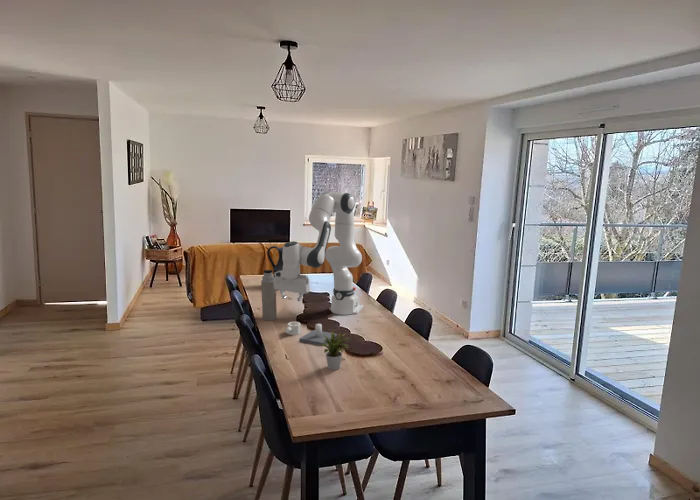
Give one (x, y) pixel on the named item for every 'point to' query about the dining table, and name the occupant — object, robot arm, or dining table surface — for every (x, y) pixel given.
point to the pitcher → (280, 261)
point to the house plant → (334, 351)
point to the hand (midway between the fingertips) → (291, 299)
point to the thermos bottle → (268, 296)
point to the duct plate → (314, 339)
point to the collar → (293, 328)
